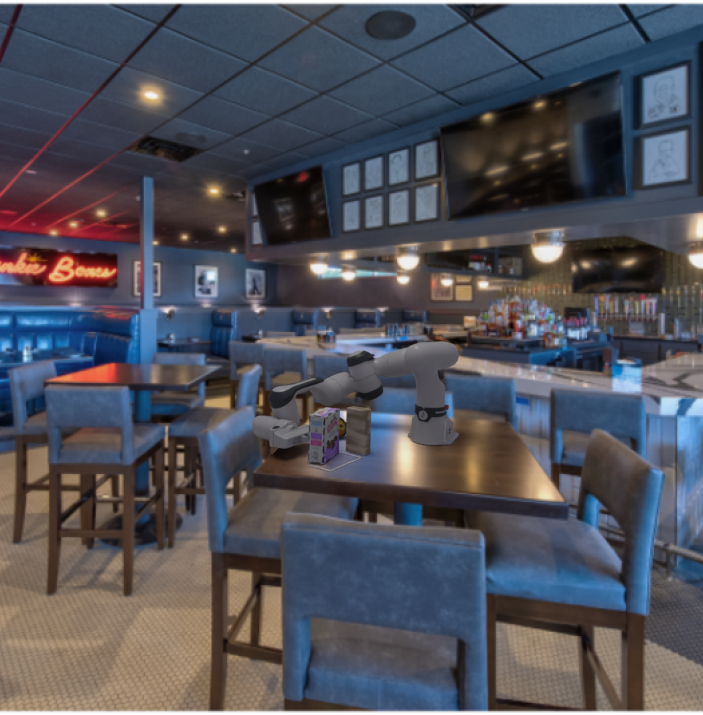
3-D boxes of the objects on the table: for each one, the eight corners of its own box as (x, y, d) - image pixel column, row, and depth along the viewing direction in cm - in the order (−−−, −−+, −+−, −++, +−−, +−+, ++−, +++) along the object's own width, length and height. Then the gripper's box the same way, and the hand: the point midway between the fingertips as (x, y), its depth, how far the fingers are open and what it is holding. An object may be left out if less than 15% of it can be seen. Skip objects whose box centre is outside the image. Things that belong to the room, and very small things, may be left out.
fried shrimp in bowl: (357, 426, 186) (331, 420, 172) (343, 449, 187) (316, 445, 173) (342, 414, 191) (315, 407, 177) (329, 436, 192) (301, 431, 178)
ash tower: (352, 448, 172) (353, 406, 170) (370, 452, 168) (371, 409, 166) (345, 451, 169) (346, 407, 167) (363, 455, 164) (364, 411, 163)
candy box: (323, 465, 154) (324, 416, 152) (307, 462, 156) (308, 414, 154) (339, 453, 167) (340, 408, 165) (324, 450, 169) (325, 406, 167)
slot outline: (342, 452, 167) (342, 451, 167) (362, 457, 162) (362, 457, 162) (308, 465, 153) (308, 465, 153) (329, 472, 148) (329, 471, 148)
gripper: (305, 434, 179) (334, 441, 170) (266, 447, 162) (295, 456, 154) (305, 418, 178) (334, 425, 170) (266, 430, 161) (295, 437, 153)
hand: (315, 439), depth 162 cm, fingers closed
